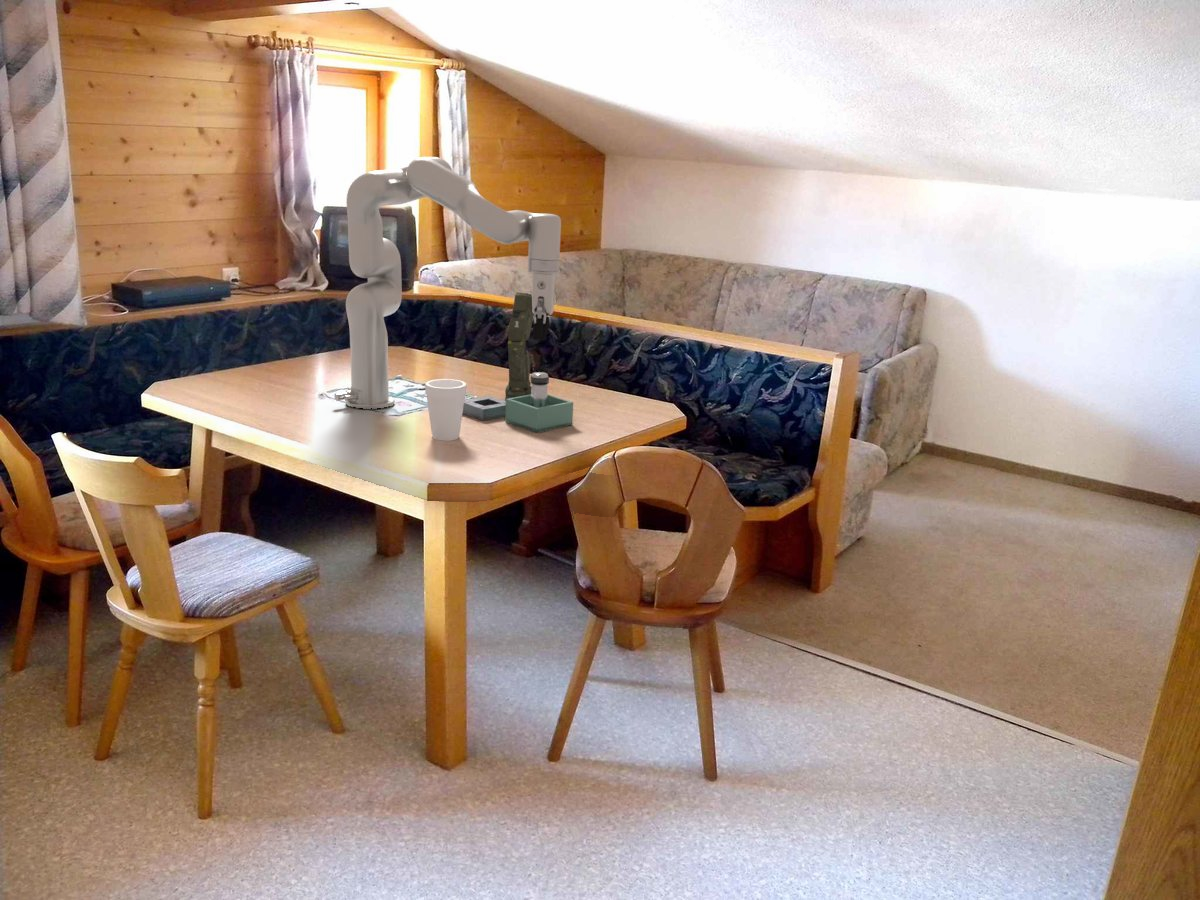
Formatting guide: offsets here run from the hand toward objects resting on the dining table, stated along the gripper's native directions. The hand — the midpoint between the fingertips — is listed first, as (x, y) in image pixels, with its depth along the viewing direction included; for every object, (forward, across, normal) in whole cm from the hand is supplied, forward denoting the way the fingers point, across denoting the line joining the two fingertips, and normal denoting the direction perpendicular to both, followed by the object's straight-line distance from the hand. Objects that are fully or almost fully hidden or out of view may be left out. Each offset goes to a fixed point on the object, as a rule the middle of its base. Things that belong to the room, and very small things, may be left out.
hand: (540, 335), depth 248 cm
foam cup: (+23, -16, +21) cm, 35 cm away
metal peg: (+22, 0, 0) cm, 22 cm away
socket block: (+23, +7, +14) cm, 27 cm away
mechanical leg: (+23, +25, +6) cm, 35 cm away
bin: (+22, 0, 0) cm, 22 cm away
